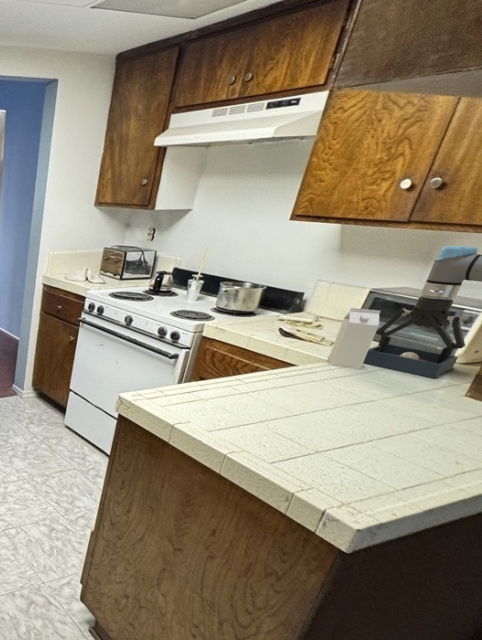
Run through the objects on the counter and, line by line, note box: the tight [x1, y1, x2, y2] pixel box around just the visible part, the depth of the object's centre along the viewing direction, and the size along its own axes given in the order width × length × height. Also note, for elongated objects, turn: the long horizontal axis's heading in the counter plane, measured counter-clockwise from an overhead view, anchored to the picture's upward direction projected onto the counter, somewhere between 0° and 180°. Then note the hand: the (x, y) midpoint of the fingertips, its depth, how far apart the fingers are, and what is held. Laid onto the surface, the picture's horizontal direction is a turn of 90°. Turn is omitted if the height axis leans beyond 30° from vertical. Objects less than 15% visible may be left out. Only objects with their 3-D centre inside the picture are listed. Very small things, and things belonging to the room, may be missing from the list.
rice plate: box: [397, 352, 428, 362], centre depth 154 cm, size 10×10×5 cm
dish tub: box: [362, 343, 459, 380], centre depth 155 cm, size 18×18×5 cm
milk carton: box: [327, 307, 381, 370], centre depth 153 cm, size 7×7×19 cm
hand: (407, 361), depth 155 cm, fingers open, 13 cm apart
